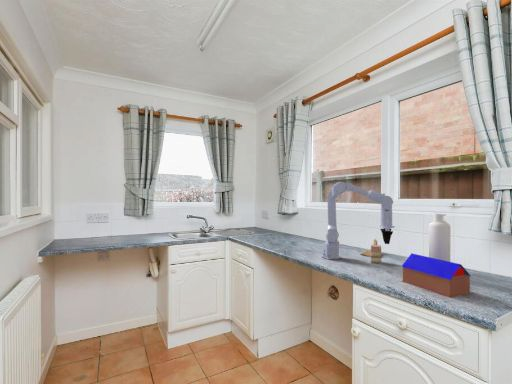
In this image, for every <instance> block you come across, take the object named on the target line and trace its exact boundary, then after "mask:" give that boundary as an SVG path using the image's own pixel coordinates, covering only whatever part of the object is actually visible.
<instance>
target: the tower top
mask: <svg viewBox="0 0 512 384" xmlns="http://www.w3.org/2000/svg"><path fill="white" fill-rule="evenodd" d="M371 258H381V259H382V252H381V253H378V252H371V257H370V259H371Z"/></svg>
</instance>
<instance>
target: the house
mask: <svg viewBox="0 0 512 384" xmlns="http://www.w3.org/2000/svg"><path fill="white" fill-rule="evenodd" d="M401 267H402V283H405V284H408V285H412V286H415V287H416V288H420V289H423V290H425V291H430V292H431V293H433V294H434V293H435V294H437V295H441V296H444V297H446V298H451V299H452V298H454V297H460V296H464V295H469V294H471V292H470V291H471V290H470V289H471V288H470V287H471V281H470V280H471V277H472V275H471V273H469V272H468V271H467V270H466V268H465V267H464V266H463V265H462V264H461V263H456V262H453V261H450V262H448V261H444V260H439V259H435V258H430V257H429V256H425V255H422V254H420V255H419V254H418V253H417V254H416V253H410V255H409V256H408V257H407V259H406V260H404V262H403V264H402V265H401Z"/></svg>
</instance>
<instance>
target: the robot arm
mask: <svg viewBox="0 0 512 384" xmlns="http://www.w3.org/2000/svg"><path fill="white" fill-rule="evenodd" d="M345 192H354V193H357V194H360V195H362V196H365V197H366V199H367V200H368V201H371V202H373V203H376V204H377V205H379V204H381V205H380V207H381V208H380V226H379V227H380V231H381V235H382V239H383V242H384V244H385V245H390V242H391V237H392V235H393V233H394V230H393V231H392V228H396V227H395V225H393V203H394V201H393V198H392V197H391V196H389V195H386V193H380V192H378V191H377V189H370V190H366V189H365V188H362V187H359V186H357V185H354V184H352V183H349V182H343V181H338V182H335V184H333V185H332V187H331V188H330V189H329V192H328V193H327V197H326V198H327V199H326V200H327V233H326V236H325V237H326V241H325V242H323V243H321V255H320V257H322V258H324V259H327V260H337V259H343V257H342V256H340V241H339V240H338V238H340V237H339V232H338V226H337V203H336V202H337V201H336V199H337V197H338V196H339V197H340V195H341V194H343V193H345Z"/></svg>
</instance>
